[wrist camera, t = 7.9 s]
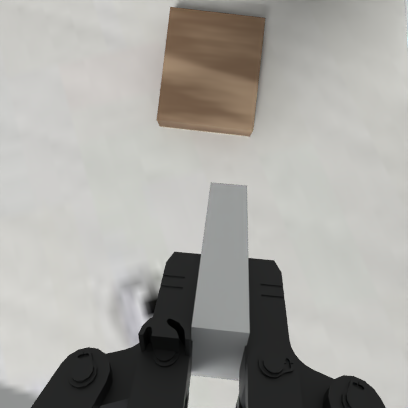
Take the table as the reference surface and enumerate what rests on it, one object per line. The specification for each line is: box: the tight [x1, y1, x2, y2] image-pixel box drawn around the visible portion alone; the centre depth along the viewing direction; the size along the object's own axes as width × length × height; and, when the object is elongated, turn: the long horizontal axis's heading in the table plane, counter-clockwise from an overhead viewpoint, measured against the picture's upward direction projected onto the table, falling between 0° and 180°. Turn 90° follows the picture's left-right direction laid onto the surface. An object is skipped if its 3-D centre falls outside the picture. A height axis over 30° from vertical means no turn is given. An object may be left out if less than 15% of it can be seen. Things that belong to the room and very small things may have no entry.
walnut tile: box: [157, 7, 265, 137], centre depth 35 cm, size 3×10×12 cm
